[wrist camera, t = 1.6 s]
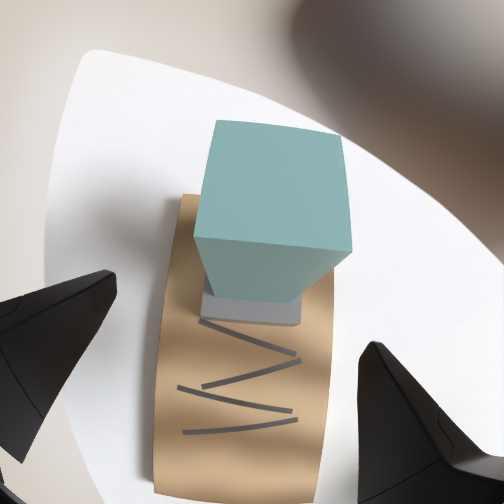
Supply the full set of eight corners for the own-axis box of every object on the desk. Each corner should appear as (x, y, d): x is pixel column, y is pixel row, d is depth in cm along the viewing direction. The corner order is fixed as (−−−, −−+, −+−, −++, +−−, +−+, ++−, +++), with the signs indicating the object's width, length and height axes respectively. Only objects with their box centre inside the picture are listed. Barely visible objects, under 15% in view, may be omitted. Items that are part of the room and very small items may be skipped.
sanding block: (292, 327, 19) (376, 296, 7) (204, 319, 18) (159, 277, 7) (295, 232, 21) (354, 117, 10) (216, 225, 21) (202, 98, 9)
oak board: (308, 494, 15) (312, 502, 14) (158, 485, 15) (154, 492, 13) (326, 216, 23) (331, 208, 22) (185, 202, 23) (183, 193, 21)
